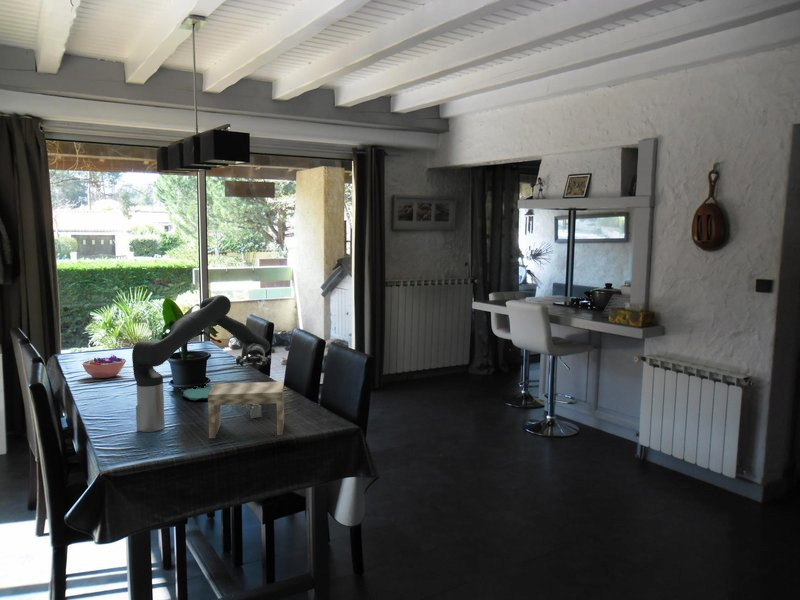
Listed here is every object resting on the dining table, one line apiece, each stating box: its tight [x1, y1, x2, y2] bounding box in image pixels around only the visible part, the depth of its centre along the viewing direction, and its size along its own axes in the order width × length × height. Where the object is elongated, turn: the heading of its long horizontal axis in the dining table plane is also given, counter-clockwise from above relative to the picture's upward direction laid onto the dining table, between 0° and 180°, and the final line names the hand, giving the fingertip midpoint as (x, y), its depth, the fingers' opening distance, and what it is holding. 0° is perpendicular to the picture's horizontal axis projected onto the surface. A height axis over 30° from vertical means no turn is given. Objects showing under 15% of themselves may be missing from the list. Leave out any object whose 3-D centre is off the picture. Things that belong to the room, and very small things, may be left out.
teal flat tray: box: [179, 383, 213, 401], centre depth 281 cm, size 20×30×2 cm, turn 32°
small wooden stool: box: [207, 381, 285, 439], centre depth 229 cm, size 26×16×16 cm, turn 99°
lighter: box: [244, 404, 262, 419], centre depth 245 cm, size 7×2×8 cm, turn 128°
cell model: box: [81, 354, 127, 379], centre depth 310 cm, size 17×20×11 cm
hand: (252, 363), depth 252 cm, fingers open, 8 cm apart
